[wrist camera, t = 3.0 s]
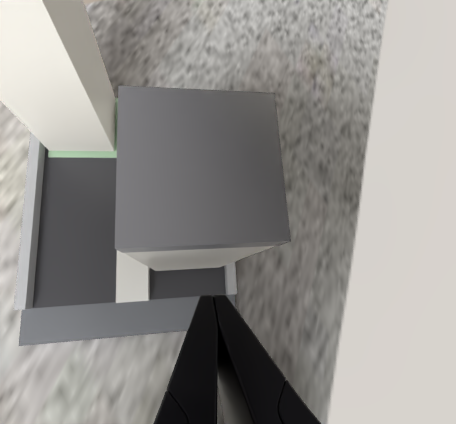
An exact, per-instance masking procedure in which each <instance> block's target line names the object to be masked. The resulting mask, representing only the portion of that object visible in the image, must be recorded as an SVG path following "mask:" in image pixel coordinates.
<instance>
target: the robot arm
mask: <svg viewBox="0 0 456 424" xmlns="http://www.w3.org/2000/svg"><path fill="white" fill-rule="evenodd" d="M217 384H218V389H219V395H220V401H221V406H222V412H223V417H224V423H225V424H321V423H320V422H319V421H318V419H317V418H316V417H315V416H314V415H313V413H312V412H311V411H310V410H309V409H308V407H307V406H306V405H305V403H304V402H303V401H302V400H301V398H300V397H299V396H298V394H297V393H296V392H295V390H294V389H293V387H292V386H291V385H290V383H289V382H288V381H287V380H286V378H285V376H284V375H283V374H282V372H281V371H280V369H279V368H278V367H277V365H276V364H275V363H274V361H273V360H272V358H271V357H270V356H269V354H268V353H267V351H266V350H265V349H264V347H263V346H262V344H261V343H260V342H259V340H258V339H257V337H256V336H255V335H254V333H253V332H252V331H251V329H250V328H249V326H248V325H247V324H246V322H245V321H244V319H243V318H242V317H241V315H240V314H239V312H238V311H237V310H236V308H235V307H234V305H233V304H232V303H231V301H230V300H229V299H228V297H227V296H226V295H225V294H216V295H213V296H212V295H201V296H200V297H199V300H198V303H197V306H196V309H195V311H194V314H193V317H192V320H191V323H190V325H189V328H188V331H187V334H186V337H185V339H184V342H183V345H182V348H181V350H180V353H179V356H178V359H177V362H176V364H175V367H174V370H173V373H172V376H171V378H170V381H169V384H168V387H167V391H166V392H165V395H164V397H163V400H162V403H161V406H160V408H159V411H158V413H157V416H156V418H155V421H154V424H217Z"/></svg>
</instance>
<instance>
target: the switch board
mask: <svg viewBox="0 0 456 424" xmlns="http://www.w3.org/2000/svg"><path fill="white" fill-rule="evenodd" d="M117 122H118V98H116V103H115V143H114V151H49V150H48V149H47V148H46V147H45V146H44V145H43V144H42V143H41V142H40V141H39V140H38V139H37V138H36V137H35V136H34V135H33V134H32V133H31V132H30V142H29V153H28V164H27V174H26V185H25V195H24V206H23V217H22V227H21V238H20V249H19V259H18V270H17V281H16V291H15V302H14V310H22V315H21V326H20V338H19V346H24V345H35V344H46V343H57V342H68V341H79V340H90V339H100V338H111V337H122V336H133V335H144V334H155V333H166V332H177V331H187V330H188V328H189V325H190V323H191V320H192V317H193V314H194V311H195V309H196V306H197V303H198V300H199V297H200V296H201V295H212V296H213V295H216V294H225V295H226V296H227V297H228V299H229V300H230V301H231V303H232V304H233V305H234V307H235V294H237V283H236V269H235V262H232V263H230V264H227V265H224V266H222V267H219V268H201V269H183V270H165V271H155V270H153V269H151V268H149V267H148V266H146V265H144V264H142V263H141V262H139V261H137V260H135V259H134V258H132V257H130V256H128V255H127V254H125V253H122V252H120V251H118V250H116V249H115V211H116V166H117Z"/></svg>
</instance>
